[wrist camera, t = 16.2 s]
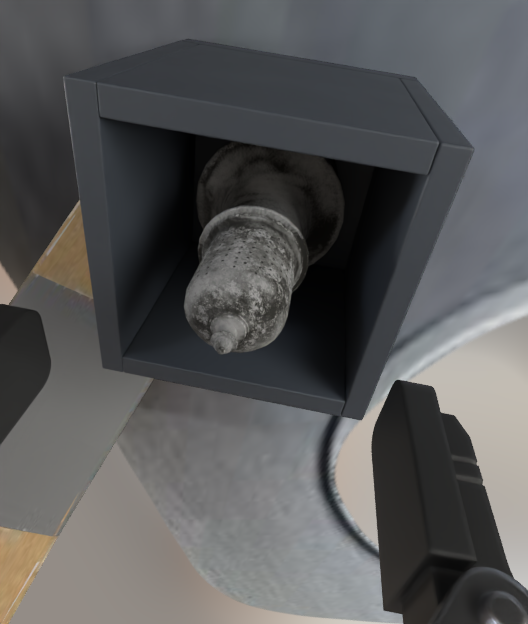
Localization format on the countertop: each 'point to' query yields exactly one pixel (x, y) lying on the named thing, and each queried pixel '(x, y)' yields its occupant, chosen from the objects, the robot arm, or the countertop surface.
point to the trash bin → (187, 228)
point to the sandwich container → (58, 415)
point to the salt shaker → (258, 240)
